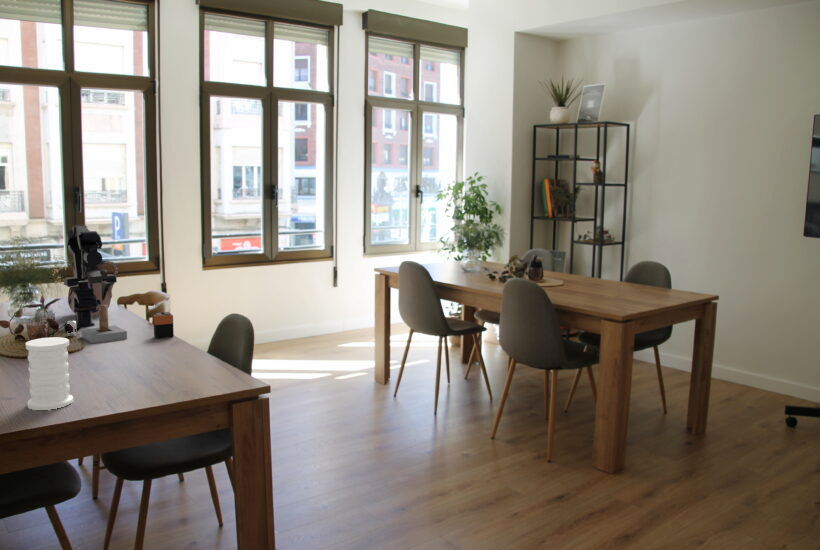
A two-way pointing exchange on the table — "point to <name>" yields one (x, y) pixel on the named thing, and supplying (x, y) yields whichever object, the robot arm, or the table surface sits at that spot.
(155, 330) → the battery
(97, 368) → the table surface
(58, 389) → the decorative container
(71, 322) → the steel pin
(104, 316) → the walnut pin
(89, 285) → the ceramic pitcher
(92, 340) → the hole plate
